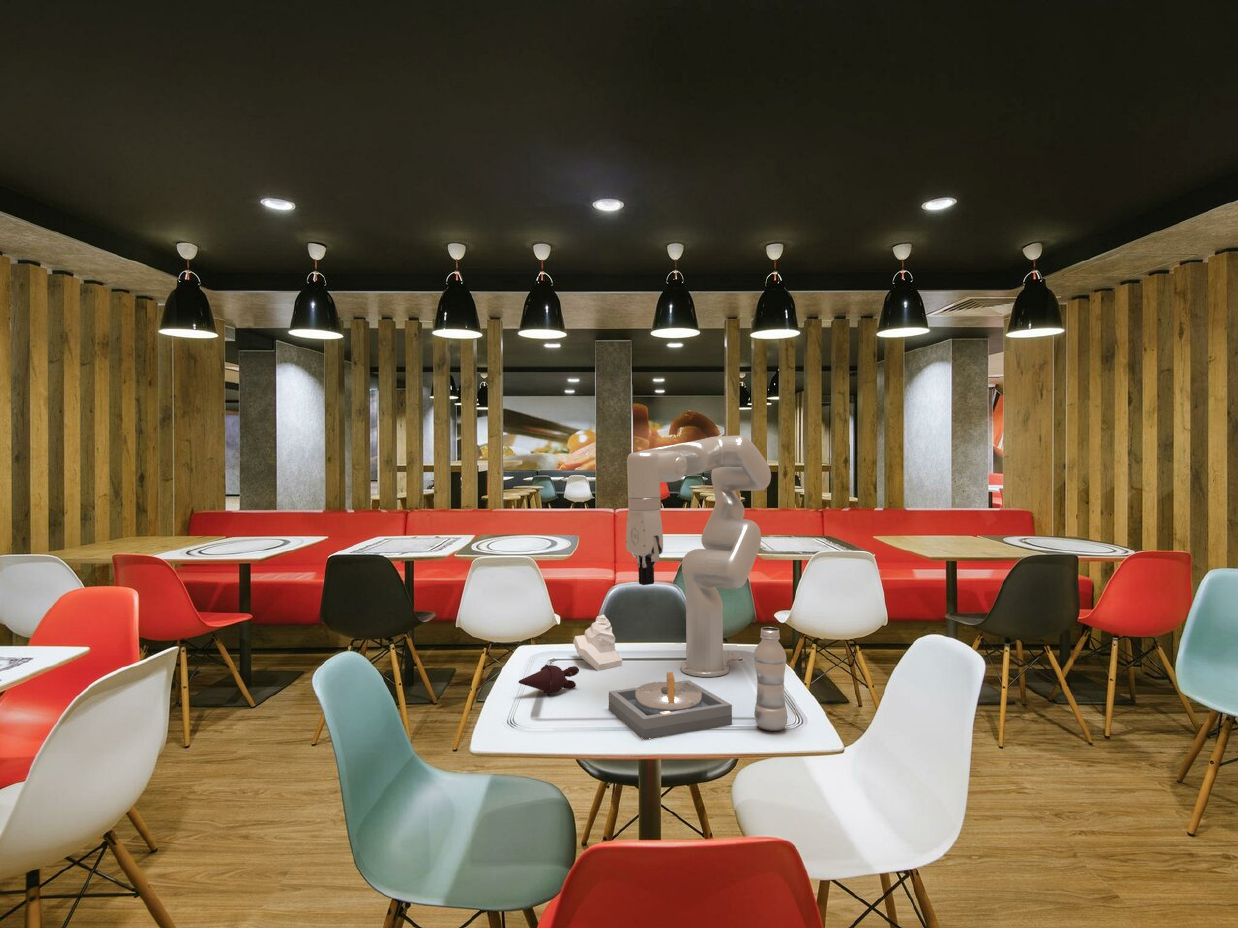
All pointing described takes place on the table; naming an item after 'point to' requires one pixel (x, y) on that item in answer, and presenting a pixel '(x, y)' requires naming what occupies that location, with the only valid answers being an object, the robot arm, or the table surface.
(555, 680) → the icecream
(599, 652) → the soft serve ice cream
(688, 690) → the dial
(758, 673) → the plastic bottle
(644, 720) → the tray
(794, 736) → the table surface
